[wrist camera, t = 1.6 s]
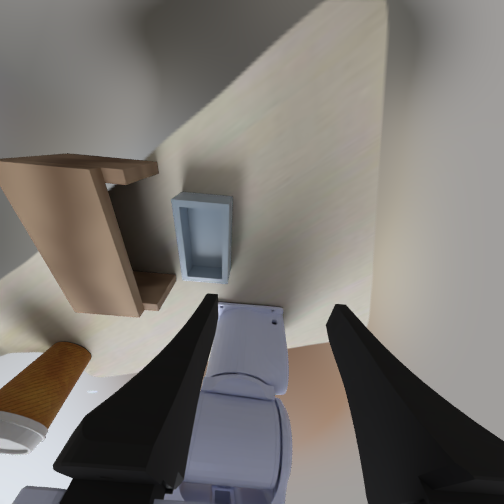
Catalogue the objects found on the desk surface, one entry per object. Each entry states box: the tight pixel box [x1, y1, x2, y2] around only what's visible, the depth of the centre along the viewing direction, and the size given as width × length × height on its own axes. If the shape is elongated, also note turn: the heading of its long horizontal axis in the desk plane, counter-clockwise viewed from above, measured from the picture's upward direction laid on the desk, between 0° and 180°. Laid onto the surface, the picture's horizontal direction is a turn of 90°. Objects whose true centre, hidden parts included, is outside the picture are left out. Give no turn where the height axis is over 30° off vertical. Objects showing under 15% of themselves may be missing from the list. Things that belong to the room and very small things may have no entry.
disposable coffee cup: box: [0, 342, 91, 455], centre depth 29 cm, size 10×10×12 cm
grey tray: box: [171, 192, 233, 284], centre depth 20 cm, size 5×9×3 cm, turn 175°
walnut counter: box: [0, 153, 176, 317], centre depth 18 cm, size 8×14×6 cm, turn 175°
